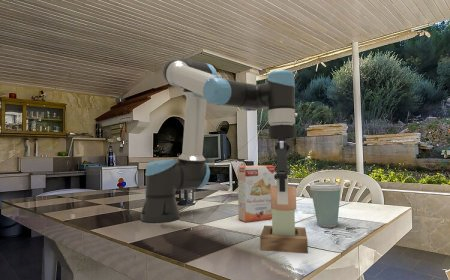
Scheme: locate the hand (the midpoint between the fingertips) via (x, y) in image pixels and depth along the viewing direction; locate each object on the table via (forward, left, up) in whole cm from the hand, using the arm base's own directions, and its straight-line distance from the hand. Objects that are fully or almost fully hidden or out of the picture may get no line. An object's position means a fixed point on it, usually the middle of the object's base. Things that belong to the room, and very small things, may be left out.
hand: (283, 200), depth 81 cm
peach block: (0, 0, -2) cm, 2 cm away
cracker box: (-11, +30, -12) cm, 34 cm away
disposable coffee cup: (+14, +25, -12) cm, 31 cm away
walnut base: (0, 0, -12) cm, 12 cm away
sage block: (0, 0, -10) cm, 10 cm away
